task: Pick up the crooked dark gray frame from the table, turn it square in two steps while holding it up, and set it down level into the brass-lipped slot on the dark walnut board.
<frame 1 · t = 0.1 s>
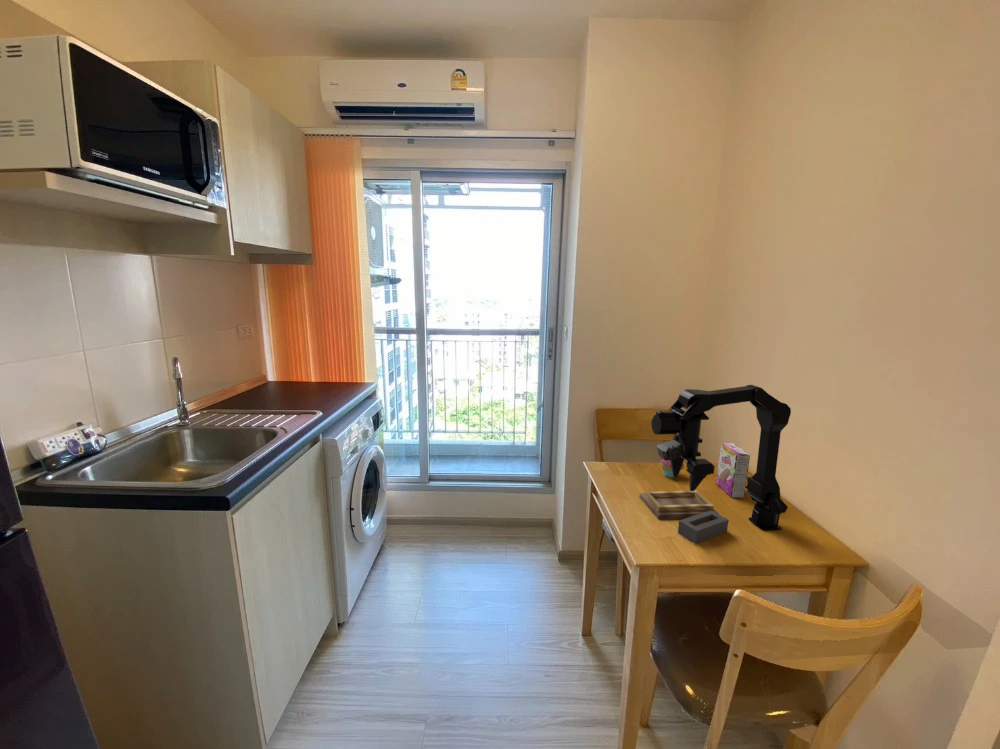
hand: (683, 483, 122), 14 cm above the table, tool pointing down, fingers open, 9 cm apart
dark gray frame: (702, 532, 123), on the table
cupcake: (670, 475, 162), on the table
candy bar box: (729, 491, 149), on the table
walnut board: (677, 506, 137), on the table
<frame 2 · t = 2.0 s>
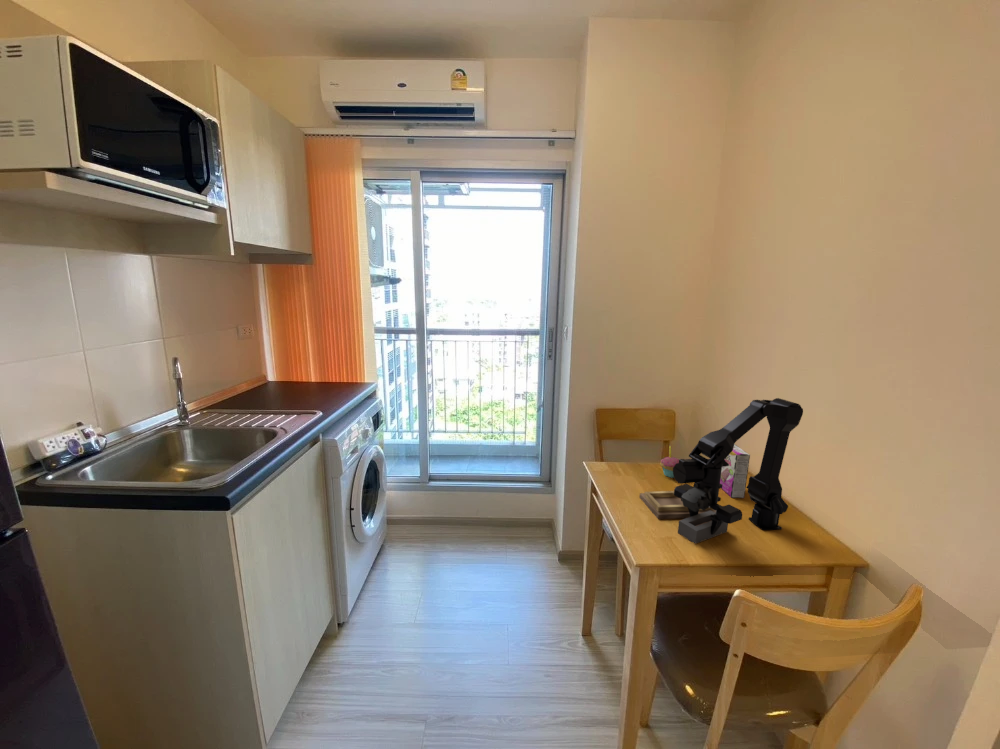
hand: (702, 528, 123), 1 cm above the table, tool pointing down, fingers closed on dark gray frame, 6 cm apart
dark gray frame: (702, 532, 123), on the table, touching gripper
everything else where it was.
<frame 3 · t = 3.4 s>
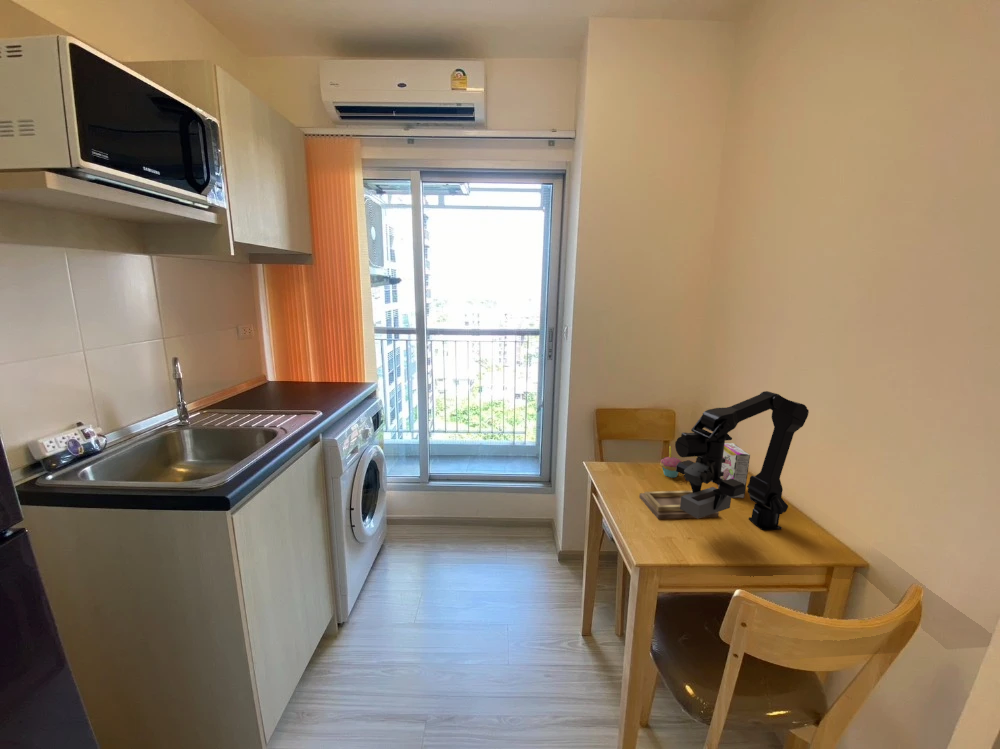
hand: (705, 504, 121), 9 cm above the table, tool pointing down, fingers closed on dark gray frame, 6 cm apart
dark gray frame: (705, 508, 121), point 8 cm above the table, touching gripper
everything else where it was.
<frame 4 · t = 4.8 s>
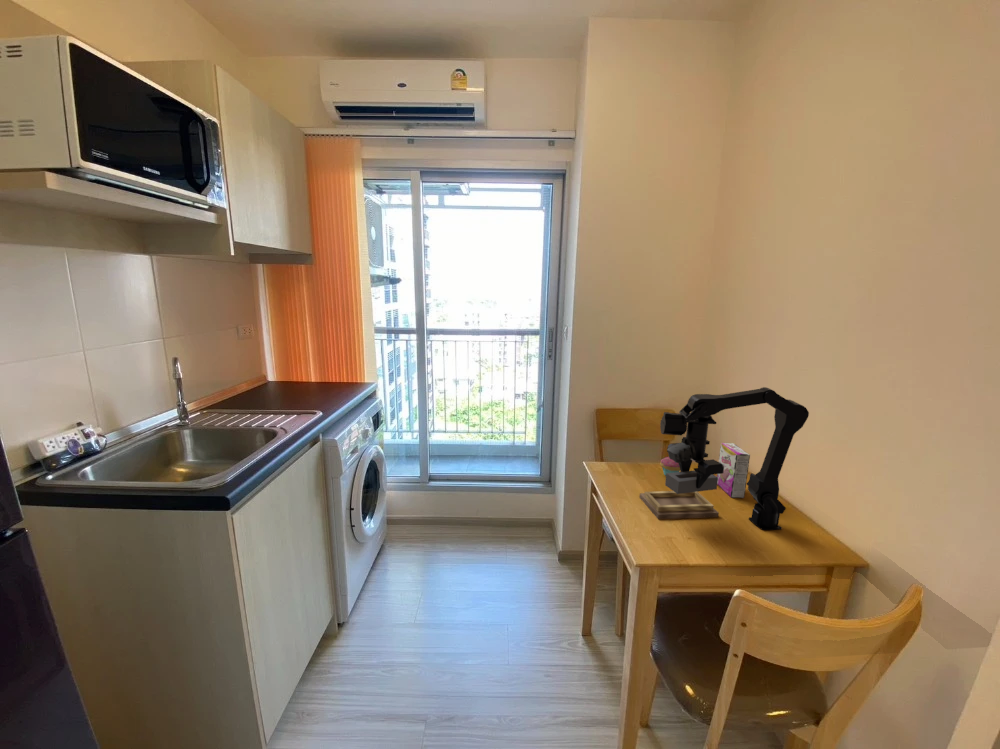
hand: (691, 483, 129), 12 cm above the table, tool pointing down, fingers closed on dark gray frame, 6 cm apart
dark gray frame: (690, 487, 129), point 10 cm above the table, touching gripper
everything else where it was.
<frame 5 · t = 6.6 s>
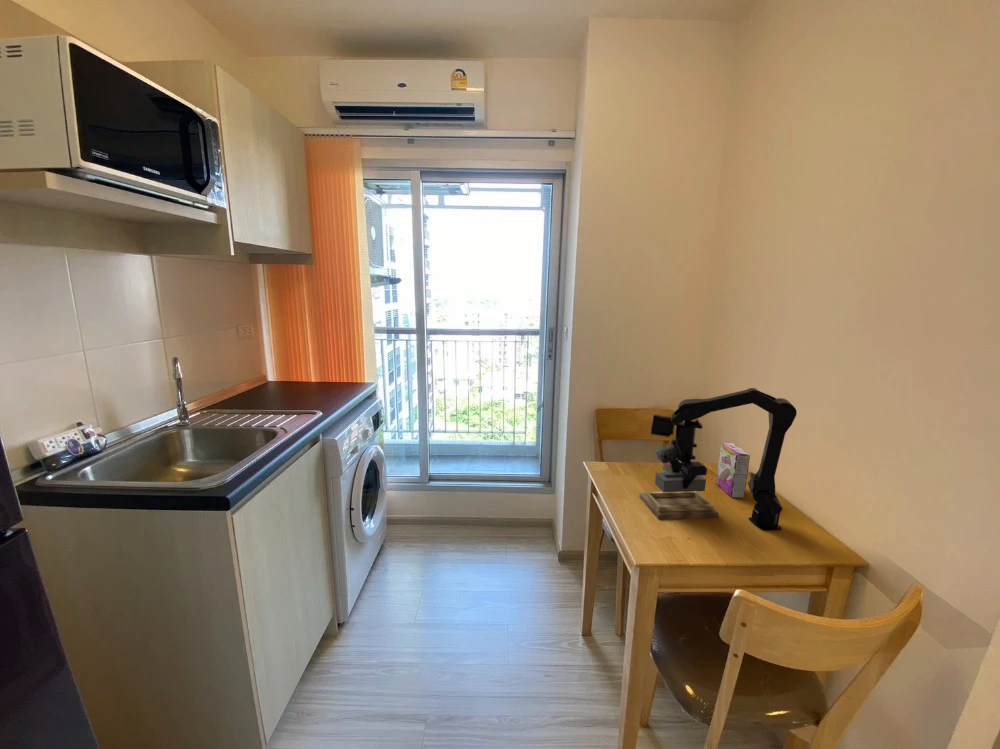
hand: (679, 483, 136), 8 cm above the table, tool pointing down, fingers closed on dark gray frame, 6 cm apart
dark gray frame: (679, 487, 136), point 7 cm above the table, touching gripper
everything else where it was.
when the fingers open (4 cm above the table, at t = 7.9 s): dark gray frame drops 1 cm, resting on walnut board.
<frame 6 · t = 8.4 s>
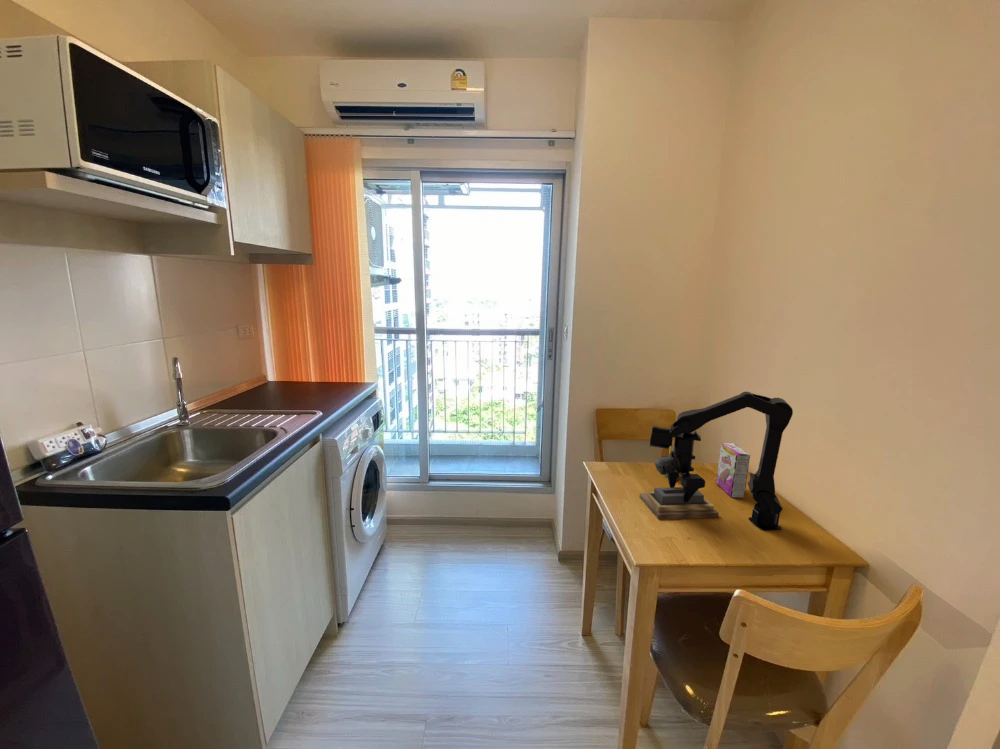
hand: (678, 495, 137), 4 cm above the table, tool pointing down, fingers open, 9 cm apart
dark gray frame: (677, 502, 137), point 1 cm above the table, touching walnut board
everything else where it was.
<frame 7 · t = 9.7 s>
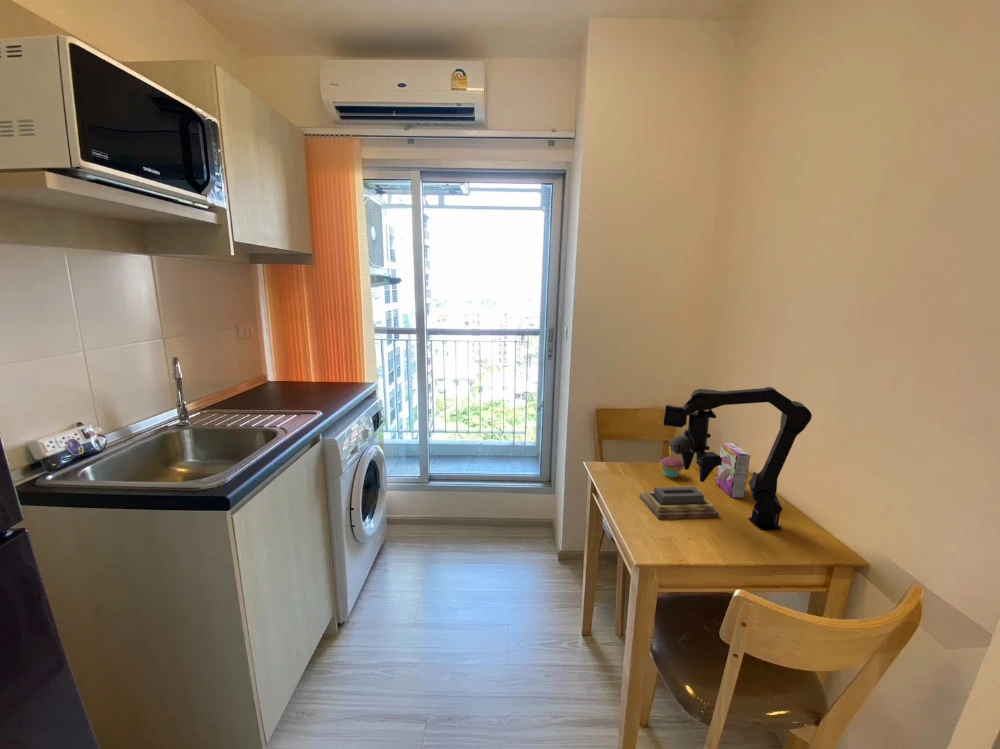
hand: (694, 475, 134), 12 cm above the table, tool pointing down, fingers open, 9 cm apart
nothing on the table moved.
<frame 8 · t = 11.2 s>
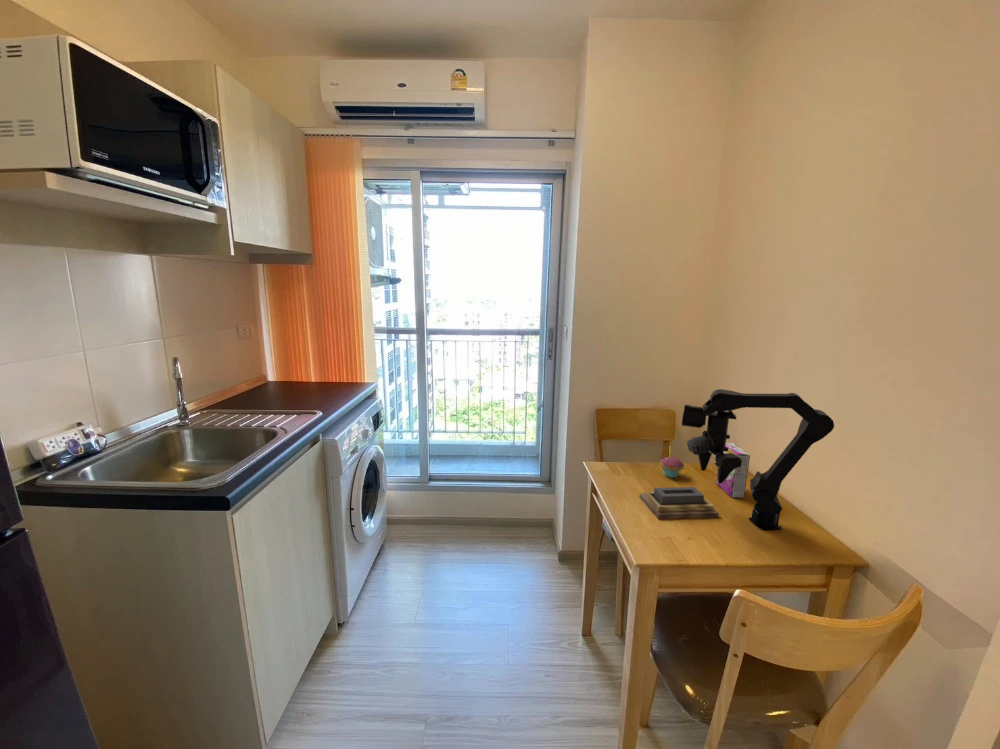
hand: (711, 476, 132), 13 cm above the table, tool pointing down, fingers open, 9 cm apart
nothing on the table moved.
at the end: dark gray frame 0.1 cm off-centre on the walnut board, point 1.5 cm above the walnut board's base; dark gray frame tilted 0°; the gripper is holding nothing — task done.
